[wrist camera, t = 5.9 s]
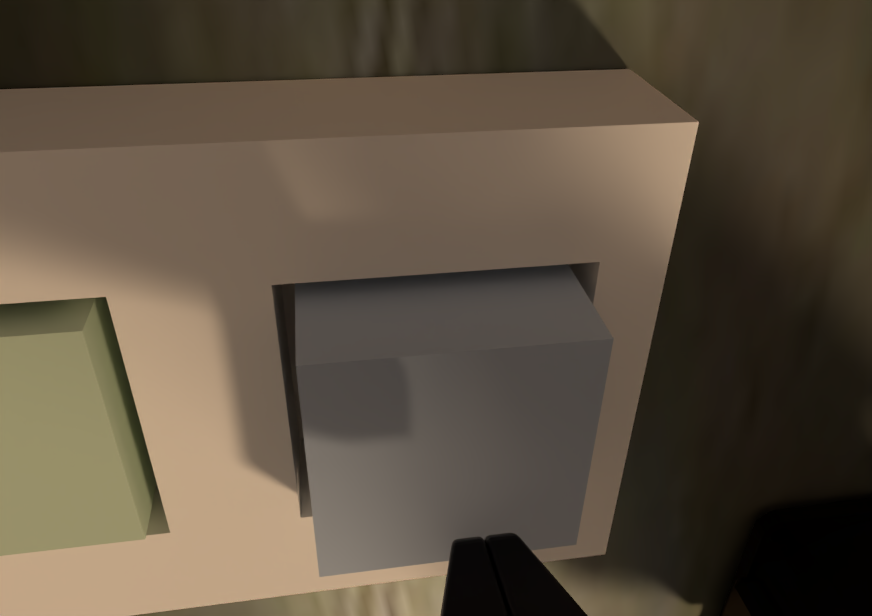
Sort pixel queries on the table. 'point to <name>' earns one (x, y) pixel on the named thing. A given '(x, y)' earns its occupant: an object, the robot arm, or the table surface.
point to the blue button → (447, 411)
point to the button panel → (311, 279)
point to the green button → (68, 431)
